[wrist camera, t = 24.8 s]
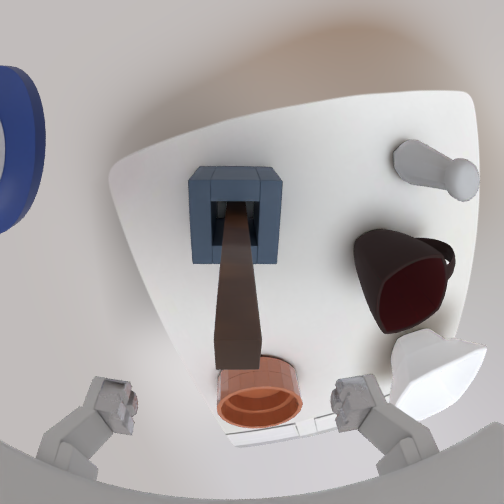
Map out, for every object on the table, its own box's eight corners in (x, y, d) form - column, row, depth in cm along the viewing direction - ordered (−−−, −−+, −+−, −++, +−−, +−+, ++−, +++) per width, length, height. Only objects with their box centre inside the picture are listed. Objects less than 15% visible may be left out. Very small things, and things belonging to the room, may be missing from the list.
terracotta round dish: (220, 400, 51) (219, 428, 44) (216, 354, 44) (214, 387, 38) (290, 398, 51) (295, 425, 45) (301, 352, 45) (309, 383, 39)
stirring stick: (227, 208, 33) (216, 369, 12) (227, 192, 33) (213, 339, 11) (244, 209, 34) (259, 369, 12) (244, 193, 33) (262, 339, 11)
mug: (334, 228, 35) (372, 275, 25) (419, 200, 34) (474, 233, 23) (345, 287, 40) (377, 343, 29) (422, 258, 38) (465, 300, 28)
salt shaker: (387, 181, 33) (449, 214, 21) (385, 138, 30) (452, 153, 18) (421, 178, 33) (484, 208, 21) (420, 138, 30) (488, 155, 18)
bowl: (371, 320, 43) (404, 382, 31) (454, 295, 43) (494, 340, 30) (360, 383, 51) (379, 436, 39) (433, 359, 51) (459, 402, 38)
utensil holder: (201, 233, 35) (192, 263, 28) (199, 166, 31) (188, 180, 24) (268, 233, 35) (276, 264, 28) (272, 167, 31) (282, 180, 24)
